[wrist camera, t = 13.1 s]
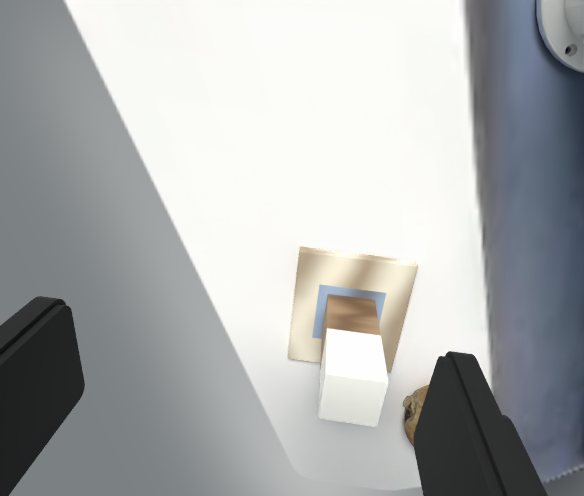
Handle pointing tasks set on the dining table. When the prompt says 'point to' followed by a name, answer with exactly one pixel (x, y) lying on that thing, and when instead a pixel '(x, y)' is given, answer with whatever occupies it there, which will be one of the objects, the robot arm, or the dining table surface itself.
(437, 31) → the dining table surface
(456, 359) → the robot arm
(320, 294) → the birch board
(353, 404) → the cream block
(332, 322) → the walnut block
